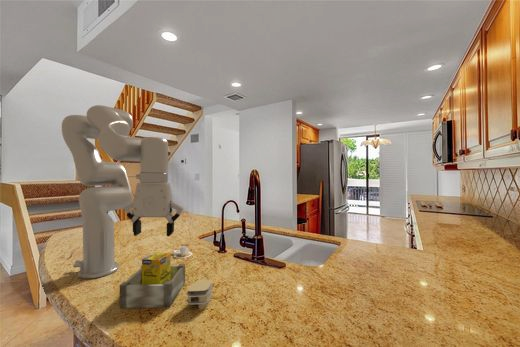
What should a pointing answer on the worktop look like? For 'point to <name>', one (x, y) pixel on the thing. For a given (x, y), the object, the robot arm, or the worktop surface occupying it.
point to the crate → (151, 290)
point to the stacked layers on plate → (200, 293)
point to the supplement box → (156, 268)
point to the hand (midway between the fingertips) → (153, 234)
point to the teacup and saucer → (182, 252)
